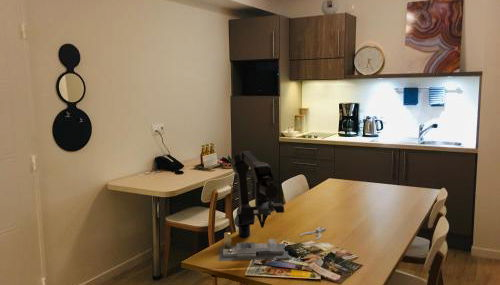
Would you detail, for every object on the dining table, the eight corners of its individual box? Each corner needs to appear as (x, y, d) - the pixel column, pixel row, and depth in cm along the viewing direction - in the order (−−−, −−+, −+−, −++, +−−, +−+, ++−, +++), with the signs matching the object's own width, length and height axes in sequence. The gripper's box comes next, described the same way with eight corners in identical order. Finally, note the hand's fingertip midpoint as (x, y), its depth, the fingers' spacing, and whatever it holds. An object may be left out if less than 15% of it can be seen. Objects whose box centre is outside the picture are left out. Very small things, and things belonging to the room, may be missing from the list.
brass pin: (224, 247, 185) (224, 232, 185) (231, 246, 186) (230, 232, 185) (224, 249, 182) (224, 234, 182) (231, 249, 183) (231, 234, 182)
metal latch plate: (236, 246, 181) (236, 239, 181) (275, 244, 182) (274, 238, 181) (237, 253, 173) (236, 246, 173) (277, 252, 174) (276, 244, 174)
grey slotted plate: (223, 251, 181) (223, 246, 181) (281, 248, 182) (281, 244, 182) (223, 258, 173) (223, 253, 173) (284, 255, 174) (284, 251, 174)
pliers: (298, 233, 199) (314, 225, 211) (298, 236, 200) (314, 228, 211) (316, 237, 193) (331, 229, 205) (316, 241, 193) (331, 232, 205)
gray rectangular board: (219, 247, 187) (219, 246, 187) (284, 245, 188) (284, 243, 188) (218, 262, 171) (218, 260, 171) (289, 259, 173) (289, 257, 172)
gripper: (241, 198, 168) (241, 235, 170) (286, 197, 169) (286, 233, 171) (239, 191, 179) (240, 225, 181) (281, 190, 180) (282, 224, 182)
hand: (262, 227), depth 179 cm, fingers closed
